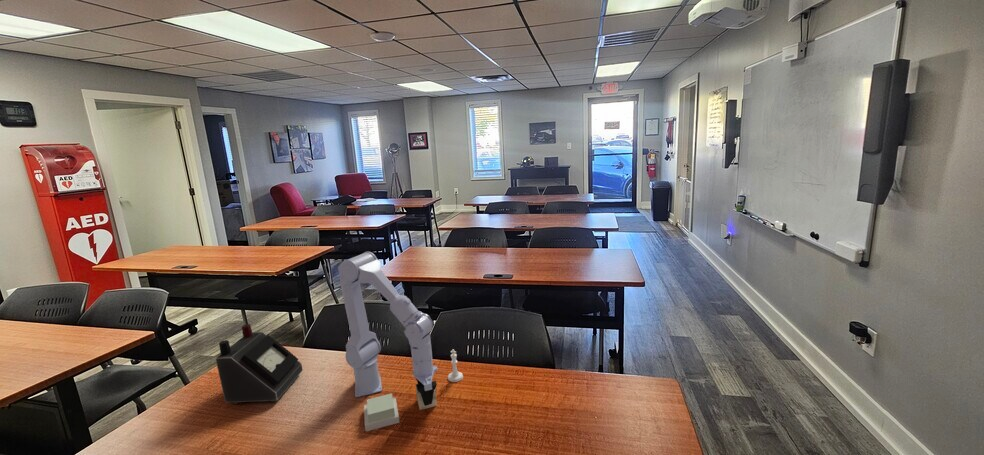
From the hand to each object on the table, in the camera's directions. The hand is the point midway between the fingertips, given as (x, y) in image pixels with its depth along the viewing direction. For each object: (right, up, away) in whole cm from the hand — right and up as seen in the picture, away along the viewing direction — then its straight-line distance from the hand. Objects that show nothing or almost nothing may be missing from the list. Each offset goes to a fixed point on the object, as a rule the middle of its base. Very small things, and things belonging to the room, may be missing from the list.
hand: (426, 398), depth 118 cm
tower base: (-12, -4, -4) cm, 13 cm away
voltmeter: (-53, -2, +12) cm, 55 cm away
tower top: (-12, -1, -5) cm, 13 cm away
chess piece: (+8, +1, +12) cm, 14 cm away
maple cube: (0, -1, 0) cm, 2 cm away
